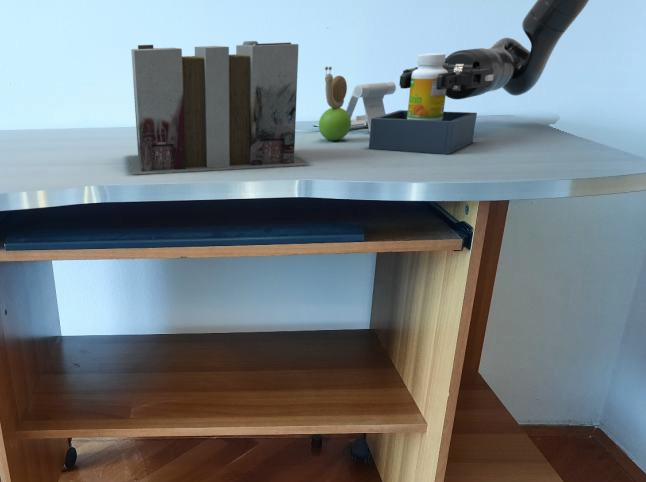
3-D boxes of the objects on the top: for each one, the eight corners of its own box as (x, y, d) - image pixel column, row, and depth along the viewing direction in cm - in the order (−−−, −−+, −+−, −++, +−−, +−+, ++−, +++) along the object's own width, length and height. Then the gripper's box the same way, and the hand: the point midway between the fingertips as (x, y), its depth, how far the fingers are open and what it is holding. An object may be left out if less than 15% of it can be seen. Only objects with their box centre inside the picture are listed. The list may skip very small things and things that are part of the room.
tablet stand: (365, 126, 126) (369, 80, 122) (396, 130, 120) (401, 82, 116) (332, 130, 122) (335, 83, 118) (363, 135, 116) (367, 85, 112)
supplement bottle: (399, 120, 103) (405, 54, 99) (428, 117, 105) (435, 52, 101) (420, 124, 99) (427, 55, 95) (449, 121, 100) (458, 53, 96)
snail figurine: (309, 142, 110) (312, 66, 105) (327, 137, 115) (331, 64, 109) (337, 144, 107) (342, 66, 102) (355, 139, 111) (361, 64, 106)
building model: (129, 156, 103) (121, 45, 96) (281, 148, 105) (284, 39, 98) (132, 174, 89) (123, 46, 82) (307, 165, 91) (313, 39, 84)
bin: (472, 142, 104) (477, 112, 102) (449, 154, 95) (454, 121, 93) (396, 138, 111) (399, 110, 109) (368, 148, 102) (371, 118, 100)
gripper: (433, 49, 111) (381, 55, 101) (519, 48, 101) (470, 54, 91) (428, 95, 114) (376, 105, 104) (510, 98, 105) (462, 110, 95)
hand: (420, 81), depth 98 cm, fingers closed on supplement bottle, 5 cm apart
